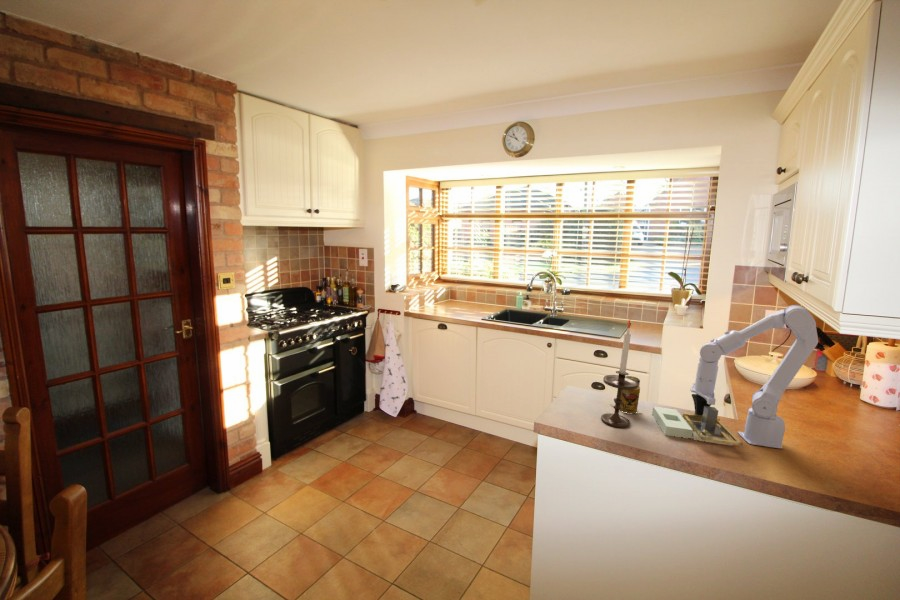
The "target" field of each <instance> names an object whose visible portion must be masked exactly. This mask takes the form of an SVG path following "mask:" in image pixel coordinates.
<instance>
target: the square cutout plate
mask: <svg viewBox="0 0 900 600" xmlns="http://www.w3.org/2000/svg"><path fill="white" fill-rule="evenodd" d="M651 416H652V417H653V416H654V417H653V419H654V420H655V422H656V421H657V422H656V423H657V425H658V424H659V425H658V426H659V428H660V429H661V431H662V432H663V434H664V435H665V436H668V437H674V436H675V438H681V437H683V439H688V438H691V439H693V438H692V432H693V430H692V428H691V427H690V426H689V425H688V423H687V422H686V420H684V418H683V417H682V416H683V415H681V413H680V412H679V411H678V409H676V408H667V407H666V408H665V407H660V406H652V411H651Z"/></svg>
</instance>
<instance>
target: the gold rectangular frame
mask: <svg viewBox="0 0 900 600" xmlns="http://www.w3.org/2000/svg"><path fill="white" fill-rule="evenodd" d="M681 416H682V417H683V418H684V420H685V421H687V422H688V423H689V424H690V426H691V427H692V428H693V429H694V431H695V432H696V433H697V434H698V436H699V437H700V438H701V439H702V440H706V441H713V442H720V443H727V444H733V446H734V445H735V446H739V447H740V446H741V447H742V446H743V445H744V443H743V442H742V441H741V440H740V439H739V438H738V437H737V436H736V435H735V434H734V433H733V432H732V431H731V430H730V429H729V428H728V427H727V426H726V425H725V424H724V423H723V422H722V421H721V418H720V417H718V416H717V422H716V425H719V426H720V427H722V428H723V429H724V430H725V431H726V432H727V433H728V434H729V437H730V438H731V439H732V440H733V441H732V440H731V439H730V438H729V437H728V436H727V435H726V434H725V433H724V432H721V431H720V434H721V435H722V436H723V437H724V438H725V439H726V440H722V439H715V438H713V437H712V436H711V435H710V433H709V432H708V431H707V430H706V429H703V430H702V431H703V432H704V433H705V435H706V436H707V437H704V436H703V434H702V433H701V432H700V431H699V430H698V428H697V427H696V426H695V425H694V424H693V422H692V421H695V422H702V417H703V415H696V414H695V413H689V412H682V415H681Z"/></svg>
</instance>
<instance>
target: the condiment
mask: <svg viewBox="0 0 900 600" xmlns="http://www.w3.org/2000/svg"><path fill="white" fill-rule="evenodd" d="M625 377H628V378H631V379H634V380H636V381H637V382H638V383H639V387H638V389H635V390H624V389H622V394H621V399H622V400H623V402H622V404H620V407H621V409H620V410H621V411H623V412H627V414H626V415H629V414H628V413H635V415H636V412H637V414H643V411H640V410H639V409H638V406H639V399H640V391H641V387H640V382H641V380H640V378H638V377H636V376H630V375H625ZM610 406H612V407H613V406H615V403H614V404H610ZM620 410H619V412H621V411H620ZM623 412H622V413H623ZM638 412H639V413H638Z"/></svg>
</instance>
